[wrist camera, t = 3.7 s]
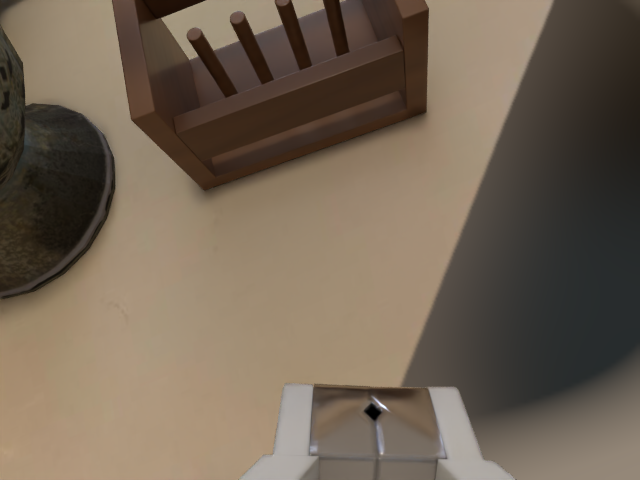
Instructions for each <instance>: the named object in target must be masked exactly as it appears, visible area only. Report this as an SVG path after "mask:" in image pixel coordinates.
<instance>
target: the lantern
mask: <svg viewBox="0 0 640 480" xmlns="http://www.w3.org/2000/svg"><path fill="white" fill-rule="evenodd" d="M114 189H115V174H114V157H113V155H112V153H111V150H110V148H109V145H108V143H107V141H106V138H105V136H104V134H103V133H102V132H101V131H100V130H99V129H97V128H96V127H95V126H94V125H93V124H92V123H91V122H90V121H89V120H88V119H87V118H86V117H85V116H84V115H82V114H80V113H78V112H75V111H72V110H70V109H67V108H64V107H62V106H59V105H45V104H30V105H28V106H25V87H24V73H23V62H22V61H21V59H20V57H19V56H18V54H17V52H16V51H15V49H14V47H13V46H12V44H11V42H10V41H9V39H8V37H7V36H6V34H5V32H4V30H3V29H2V27H1V25H0V298H3V299H4V298H8V297H12V296H16V295H20V294H24V293H28V292H33V291H35V290H37V289H39V288H40V287H42V286H44V285H45V284H47V283H49V282H50V281H52V280H54V279H56V278H57V277H59V276H61V275H62V274H64V273H65V272H66V271H67V270H68V269H69V268H70V267H71V266H72V265H73V264H74V263H75V262H76V261H77V260H78V259H79V258H80V257H81V256H82V255H83V254H84V253H85V252H86V251H87V250H88V249H89V247H90V245H91V244H92V242H93V240H94V239H95V237H96V235H97V234H98V232H99V230H100V228H101V227H102V225H103V223H104V222H105V220H106V218H107V215H108V211H109V207H110V204H111V200H112V196H113V193H114Z"/></svg>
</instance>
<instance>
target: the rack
mask: <svg viewBox="0 0 640 480" xmlns="http://www.w3.org/2000/svg"><path fill="white" fill-rule="evenodd" d="M203 1H205V0H112V4H113V10H114V16H115V22H116V28H117V35H118V41H119V47H120V53H121V59H122V65H123V72H124V78H125V84H126V90H127V96H128V103H129V109H130V115H131V120H132V121H133V122H134V123H135V124H136V125H137V126H138V127H139V128H140V129H141V130H142V131H143V132H144V133H145V134H146V135H147V136H149V137H150V138H151V139H152V140H153V141H154V142H155V143H156V144H157V145H158V146H159V147H160V148H161V149H162V150H163V151H164V152H165V153H166V154H167V155H168V156H169V157H170V158H171V159H172V160H173V161H174V162H175V163H176V164H177V165H178V166H180V167H181V168H182V169H183V170H184V171H185V172H186V173H187V174H188V175H189V176H190V177H191V178H192V179H193V180H194V181H195V182H196V183H197V184H198V185H199V186H200V187H201V188H202V189H203V190H207V189H210V188H212V187H215V186H218V185H221V184H224V183H226V182H229V181H232V180H235V179H238V178H241V177H243V176H246V175H249V174H252V173H255V172H258V171H260V170H263V169H266V168H269V167H272V166H275V165H277V164H280V163H283V162H286V161H289V160H292V159H294V158H297V157H300V156H303V155H306V154H309V153H311V152H314V151H317V150H320V149H323V148H326V147H328V146H331V145H334V144H337V143H340V142H343V141H345V140H348V139H351V138H354V137H357V136H360V135H362V134H365V133H368V132H371V131H374V130H377V129H379V128H382V127H385V126H388V125H391V124H393V123H396V122H399V121H402V120H405V119H408V118H411V117H413V116H416V115H419V114H422V113H425V112H426V108H427V64H428V19H429V8H428V6H427V4H426V2H425V0H346V1H343V2H340V1H339V0H323V3H324V7H325V9H322V10H319V11H317V12H314V13H311V14H309V15H306V16H304V17H301V18H298V19H297V16H296V13H295V10H294V7H293V3H292V0H275V4H276V7H277V10H278V12H279V15H280V18H281V20H282V23H283V25H280V26H277V27H275V28H272V29H269V30H267V31H264V32H262V33H259V34H256V35H254V34H253V32H252V29H251V27H250V25H249V23H248V21H247V19H246V16H245V14H244V13H243V12H241V11H237V12H234V13H233V14H232V15H231V16H230V22H231V24H232V26H233V28H234V30H235V32H236V34H237V36H238V38H239V40H240V41H238V42H235V43H233V44H230V45H227V46H225V47H222V48H220V49H217V50H214V51H213V49H212V47H211V46H210V44H209V42H208V41H207V39H206V37H205V36H204V34H203V32H202V31H201V29H199V28H192V29H190V30H189V31H188V33H187V38H188V40H189V42H190V43H191V45H192V46H193V48H194V49H195V51H196V52H197V54H198V56H199V57H196V58H193V59H191V60H189V59H188V57H187V56H186V54H185V53H184V51H183V50H182V49H181V47H180V46H179V44H178V43H177V41H176V40H175V38H174V37H173V35H172V34H171V32H170V31H169V29H168V28H167V26H166V25H165V24H164V22H163V21H162V19H161V18H162V17H164V16H167V15H170V14H172V13H175V12H177V11H180V10H182V9H185V8H187V7H190V6H193V5H195V4H198V3H200V2H203Z"/></svg>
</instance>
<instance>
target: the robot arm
mask: <svg viewBox="0 0 640 480" xmlns="http://www.w3.org/2000/svg"><path fill="white" fill-rule="evenodd" d="M238 480H516V479H515V478H514V477H513V476H511V475H510V474H509V473H508V472H507V471H505V470H504V469H503V468H502V467H501V466H499V465H498V464H497V463H496V462H495V461H486V460H484V458H483V455H482V452H481V449H480V447H479V444H478V441H477V439H476V436H475V433H474V430H473V428H472V425H471V422H470V420H469V417H468V414H467V411H466V408H465V406H464V403H463V400H462V398H461V395H460V392H459V390H458V389H457V388H456V387H426V388H414V387H411V388H410V387H370V386H350V385H328V384H314V387H313V385H312V384H297V383H285V385H284V387H283V389H282V396H281V403H280V409H279V416H278V423H277V429H276V436H275V442H274V449H273V455H263V456H262V457H261V458H260V459H259V460H258V461H257V462H256V463H255V464H254V465H253V466H252V467H251V468H250V469H249V470H248V471H247V472H246V473H245V474H244V475H243V476H242V477H240V478H239V479H238Z"/></svg>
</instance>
